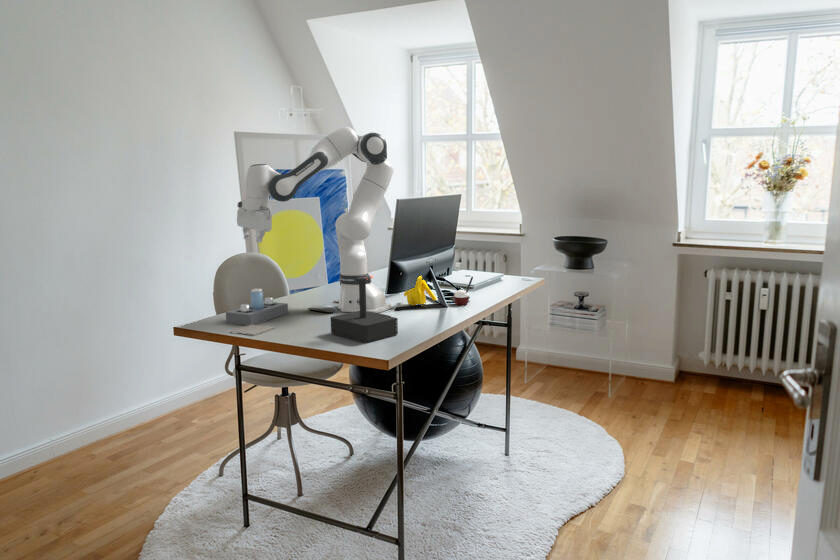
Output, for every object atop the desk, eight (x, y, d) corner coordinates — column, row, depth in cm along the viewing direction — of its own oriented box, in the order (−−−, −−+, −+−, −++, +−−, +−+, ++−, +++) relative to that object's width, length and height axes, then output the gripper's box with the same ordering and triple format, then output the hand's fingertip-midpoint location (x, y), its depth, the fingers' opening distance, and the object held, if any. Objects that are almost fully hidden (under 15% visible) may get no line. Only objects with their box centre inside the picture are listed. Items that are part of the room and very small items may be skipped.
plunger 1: (251, 315, 241) (250, 304, 240) (245, 317, 238) (245, 306, 237) (245, 314, 242) (244, 303, 241) (239, 316, 239) (238, 305, 239)
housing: (264, 310, 259) (264, 301, 258) (288, 313, 254) (287, 303, 253) (226, 322, 240) (225, 312, 239) (251, 325, 234) (250, 314, 234)
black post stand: (402, 334, 219) (401, 277, 215) (365, 344, 207) (364, 284, 204) (366, 325, 232) (364, 272, 229) (329, 334, 220) (327, 278, 217)
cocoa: (449, 305, 266) (447, 277, 264) (458, 302, 271) (456, 275, 269) (467, 307, 260) (465, 278, 258) (476, 304, 264) (474, 276, 262)
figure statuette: (439, 306, 263) (439, 253, 259) (427, 309, 257) (427, 255, 254) (407, 301, 274) (406, 250, 271) (395, 304, 268) (394, 252, 265)
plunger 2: (275, 308, 253) (274, 297, 252) (270, 310, 250) (269, 299, 250) (268, 307, 255) (268, 297, 254) (263, 309, 252) (263, 298, 251)
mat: (274, 328, 229) (274, 327, 229) (254, 335, 219) (254, 334, 219) (251, 325, 234) (251, 324, 234) (230, 332, 224) (230, 331, 224)
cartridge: (266, 317, 248) (265, 288, 246) (258, 319, 244) (257, 291, 242) (257, 316, 250) (255, 288, 248) (249, 318, 246) (247, 290, 244)
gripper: (277, 208, 241) (274, 244, 243) (249, 203, 255) (246, 237, 257) (262, 207, 237) (259, 243, 238) (235, 202, 251) (232, 237, 252)
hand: (252, 240), depth 248 cm, fingers open, 8 cm apart
